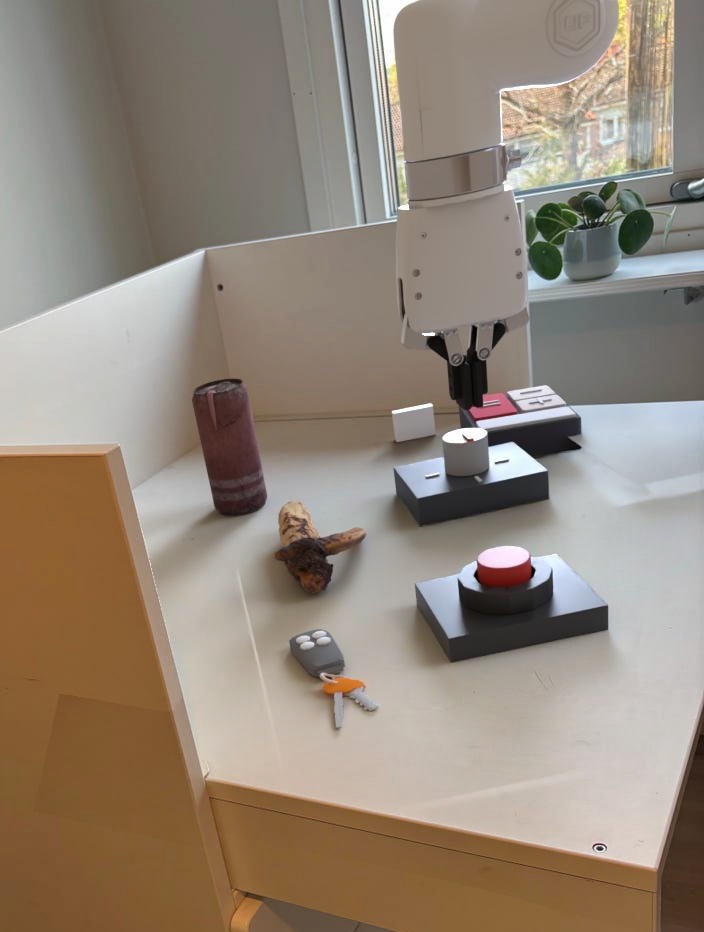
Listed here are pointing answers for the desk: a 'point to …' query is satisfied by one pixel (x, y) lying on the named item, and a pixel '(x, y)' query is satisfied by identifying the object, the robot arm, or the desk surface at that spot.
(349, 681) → the key chain
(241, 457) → the can
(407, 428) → the eraser
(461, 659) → the button base
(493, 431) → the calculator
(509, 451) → the dial panel
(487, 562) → the power button
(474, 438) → the knob
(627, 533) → the desk surface
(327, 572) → the brown gnarled root
